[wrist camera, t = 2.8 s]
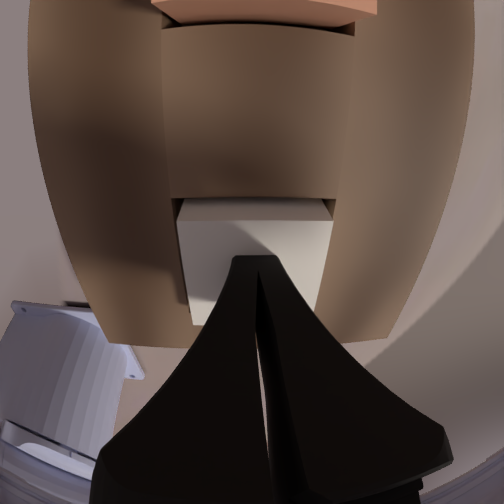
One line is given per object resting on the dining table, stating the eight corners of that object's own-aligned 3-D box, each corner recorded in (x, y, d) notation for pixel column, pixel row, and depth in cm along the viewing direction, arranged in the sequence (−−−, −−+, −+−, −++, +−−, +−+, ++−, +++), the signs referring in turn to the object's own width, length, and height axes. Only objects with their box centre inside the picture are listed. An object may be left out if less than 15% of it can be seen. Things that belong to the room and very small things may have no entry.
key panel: (125, 295, 15) (108, 343, 12) (90, -74, 3) (54, -97, 1) (367, 292, 16) (387, 337, 13) (416, -63, 4) (459, -80, 1)
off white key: (200, 270, 13) (193, 325, 10) (192, 178, 10) (176, 221, 8) (297, 269, 13) (310, 323, 11) (309, 178, 11) (333, 221, 8)
